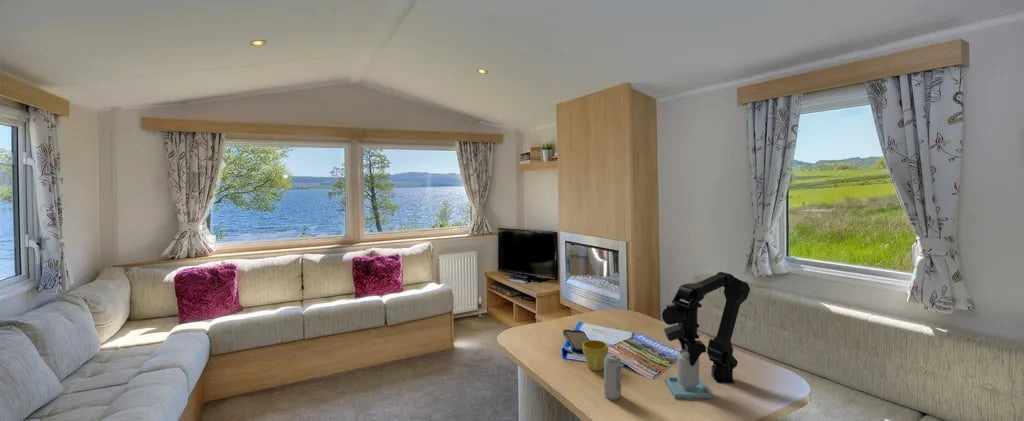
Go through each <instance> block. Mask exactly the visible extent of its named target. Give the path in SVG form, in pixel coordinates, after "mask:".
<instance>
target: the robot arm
mask: <svg viewBox="0 0 1024 421" xmlns="http://www.w3.org/2000/svg"><path fill="white" fill-rule="evenodd" d="M722 287H723V295H724V297H725V303H724V308H723V310H722V315H721V319H720V323H719V326H718V330H717V334H716V336H715V337H714V338H710V339H709V340H708V345H707V346H706V345H705V344H704V343H703V341H701V339H700V335H699V334H698V328H700V324H699V323H698V310H699V309H698V308H702V307H703V305H702V304H701V303H700V302H701V301H702V300H704V298H705V296H706V295H707V294H709V293H711V292H713V291H715V290H718V289H720V288H722ZM750 292H751V287H750V285H749V283H748V282H747V281H743V280H741V279H739V278H737V277H735V276H734V275H733V274H731V273H727V272H723V271H719V272H717V273H716V274H714V275H712V276H709V277H707V278H705V279H703V280H700V281H698V282H693V283H691V282H690V283H684V284H681V285H680V286H679V287H678V290H677V291H676V293H675V295H674V297H673V298H672V301H671V303H672V304H667V305H666V308H664V309H663V311H662V313H661V316H662V320H663V322H664V323H665V324H667V325H668V327H666V328H664V329H663V331H664V334H665V337H666V338H667V340H668V341H669V342H673V341H675V340H678V342H679V344H680V348H681V350H686V351H687V352H688V354H689V361H690V365H691V366H694V364H695V363H696V361H697V359H698V358H699V359H700V356H701V355H702V353H706V354H707V356H708V360H709V361H711V362H712V365H711V374H710V375H711V377H712V378H713V379H714V381H715V382H717V383H722V384H723V383H724V384H725V383H730V384H731V383H732V384H733V383H734V384H735V380H734V379H733V378H734V376H733V375H734V374H733V373H734V370H735V368H736V367H737V366H738V360H737V358H736V357H735V356H733V353H734V348H733V344H732V337H733V334H734V330H735V326H736V321H737V319H738V318H737V317H738V314H739V310H740V307H741V305H742V304H743V303H744V302H745V301H746V300H747V299H748V296H749V294H750ZM671 325H672V326H671ZM696 339H697V340H696Z"/></svg>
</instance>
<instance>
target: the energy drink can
mask: <svg viewBox="0 0 1024 421" xmlns="http://www.w3.org/2000/svg"><path fill="white" fill-rule="evenodd" d="M603 393H604V395H605V398H607V399H608V400H611V401H617V400H619V399H620V397H621V396H622V361H621V358H620V355H618V354H616V353H608V354H607V355H606V358H605V359H604V368H603Z"/></svg>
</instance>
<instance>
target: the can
mask: <svg viewBox="0 0 1024 421" xmlns="http://www.w3.org/2000/svg"><path fill="white" fill-rule="evenodd" d="M678 352H679V353H678V354H676V355H677V357H676V358H677V360H676V361H677V362H676V363H677V364H676V365H677V366H676V368H677V369H676V370H677V372H676V373H677V374H676V377H677V381H678V382H679V383H680V384H681V385H682V386H684V387H689V388H693V387H696V386H697V385H698V384H699V377H700V357H699V358H698V359H697V361H696V363H695V364H694V366H691V365H690V361H689V354H688V352H687V351H686V350H682V349H681V350H679V351H678Z"/></svg>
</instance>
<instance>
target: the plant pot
mask: <svg viewBox="0 0 1024 421" xmlns="http://www.w3.org/2000/svg"><path fill="white" fill-rule="evenodd" d="M582 352H583V355H584V359H585V362H586V366H587V368H588V369H589V370H591V371H599V372H600V371H602V370H604V359H605V358H606V355H607V354H609V346H608V343H607V342H605V341H603V340H602V341H601V340H597V339H591V340H585V341H584V342H582Z"/></svg>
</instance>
